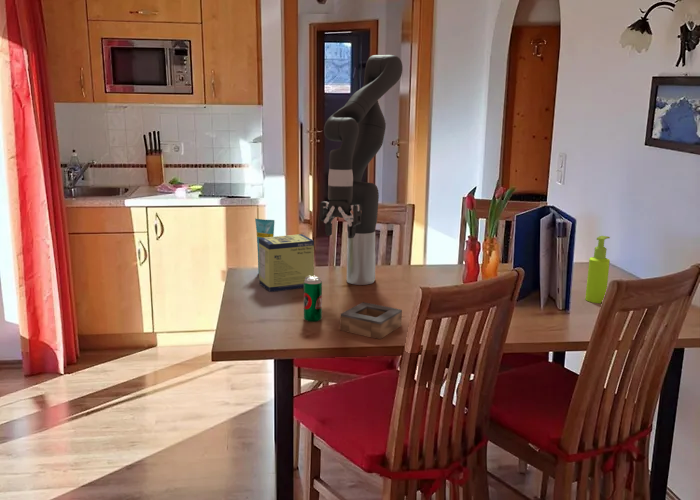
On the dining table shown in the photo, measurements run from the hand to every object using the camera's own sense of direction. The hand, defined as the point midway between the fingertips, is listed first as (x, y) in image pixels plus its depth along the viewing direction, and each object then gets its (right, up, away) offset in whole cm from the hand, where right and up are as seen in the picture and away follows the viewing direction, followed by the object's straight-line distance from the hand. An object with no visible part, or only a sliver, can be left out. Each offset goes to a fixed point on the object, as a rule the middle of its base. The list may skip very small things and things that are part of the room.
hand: (339, 236), depth 211 cm
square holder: (+9, -25, -27) cm, 38 cm away
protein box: (-18, -16, +11) cm, 26 cm away
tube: (-26, -13, +24) cm, 38 cm away
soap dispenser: (+79, -20, 0) cm, 82 cm away
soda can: (-7, -24, -21) cm, 32 cm away
